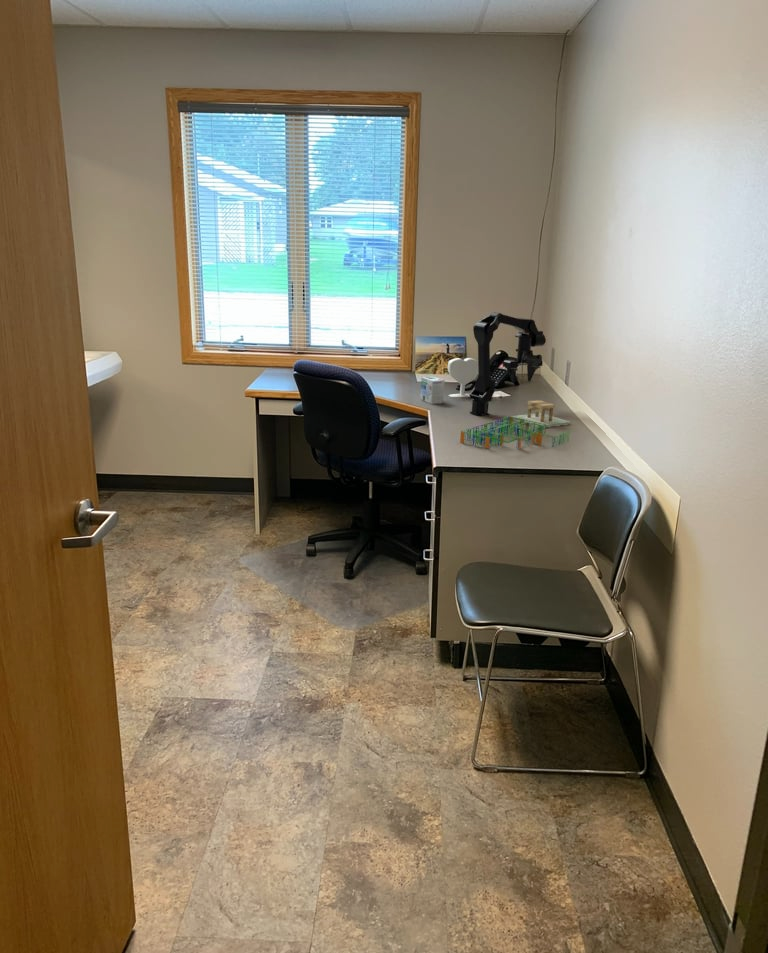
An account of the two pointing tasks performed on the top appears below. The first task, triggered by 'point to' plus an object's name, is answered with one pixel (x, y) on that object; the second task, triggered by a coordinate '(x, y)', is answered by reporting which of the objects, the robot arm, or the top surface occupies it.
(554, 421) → the sage board
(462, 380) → the heart sculpture
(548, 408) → the maple stool
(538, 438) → the house model
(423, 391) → the light bulb box
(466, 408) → the top surface
